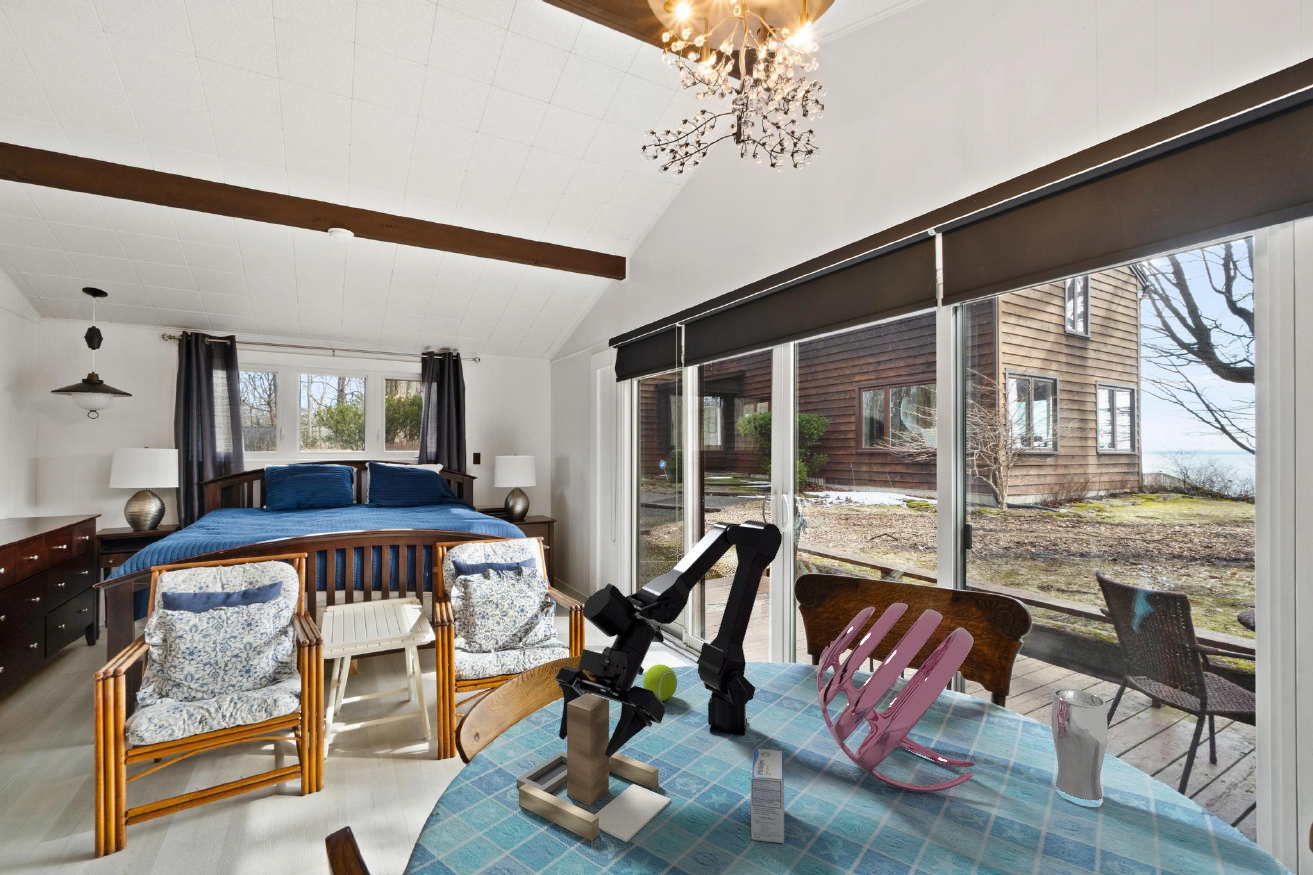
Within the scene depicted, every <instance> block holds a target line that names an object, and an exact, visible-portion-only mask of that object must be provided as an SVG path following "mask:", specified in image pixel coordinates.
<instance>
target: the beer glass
mask: <svg viewBox="0 0 1313 875" xmlns="http://www.w3.org/2000/svg"><path fill="white" fill-rule="evenodd" d="M1052 693H1053V696H1052V704H1051V705H1052V706H1051V730H1052V731H1051V732H1052V739H1053V744H1054V749H1055V754H1056V759H1057V774H1056V780H1055V783H1056V786H1057V787H1058V788H1059V789H1060V790H1061V791H1062V792H1065V793H1066V794H1069V795H1071V796H1074V797H1077V798H1080V799H1085V800H1086V799H1087V800H1099V799H1101V798H1102V795H1103V791H1102V787H1101V774H1102V768H1103V764H1104V759H1105V754H1106V749H1107V744H1108V715H1107V714H1108V713H1107V706H1106V705H1107V703H1106V701H1105V700H1104V698H1102V697H1100V696H1098V695H1096V694H1093V693H1092V692H1089V691H1085V690H1080V689H1076V688H1067V687H1066V688H1065V687H1064V688H1056V689H1054V690H1053V691H1052Z"/></svg>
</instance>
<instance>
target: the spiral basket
mask: <svg viewBox="0 0 1313 875" xmlns="http://www.w3.org/2000/svg"><path fill="white" fill-rule="evenodd" d="M908 607H909V606H908V604H907V603H904V602H903V603H902V602H894V603H892V604H891V605H890V606H889V607H888V608H886V610H885V612H883V614H882V615H881V616H879V618H878V619H877V621H876V622H875V623H874V624H873V625H872V626H871V628H870V629H869V630H868V631H867V632H866V634H865V635H864V636H863V637H862V639H861V640H859V642H858V643H857V644H856V646H855V647H854V648H853V650H851V652H850V654H849V655H847V657H845V659H844V661H842V663H840V657H841V654H842V653H843V652H844V651H845V650H846V648H848V646H849V645H850V643H851V642H852V641H853V640H854V639H855V638H856V637H857V635H858V634H859V632H860V631H861V630H862V628H863V627H864V626H865V624H866V623H867V622H868V621H869V619H870V618H871V617H872V615H873V613H874V612H875V610H876V608H875V606H869V607H866V608H864V609H862V610H860V612H858V613H857V615H856V616H855V617H853V618H852V620H851V621H850V622H849V623H848V624H847V625H846V626H845V627H844V629H843V630H842V631H841V633H839V635H838V637H837V638H836V639H835V640H832V641H830V645H829V646H828V645H826V646H825V647H824V648H823V649H822V650H823V651H822V653H821V654H820V658H819V661H818V667H817V673H816V690H817V699H818V704H819V707H820V711H821V714H822V718H823V720H824V722H825V725H826V727H827V729H828V731H829V733H830V735H831V736H832V738H833V739H834V741H835V743H836V744H837V746H838V747H839V748H840V749H841V750H842V751H843V754H845V755H846V756H847V758H849V759H850V760H851V761H852V762H853V764H855V766H857V767H858V768H860V769H861V770H862V771H863V772H865V773H866V774H868V775H870V776H871V777H873V778H874V779H876V780H878V781H880V782H882V783H884V784H886V785H888V786H891V787H894V788H897V789H900V790H904V791H910V792H915V793H916V792H917V793H933V792H934V793H935V792H941V791H946V790H949V789H952V788H955V787H958V786H960V785H963V784H964V783H966V782H967V781H969V780H970V779H971V778H972V777H973V775H974V774H973V772H972V771H967V772H966V773H964V774H962V775H960V776H958V777H956V778H953V779H951V780H948V781H946V782H945V781H944V782H941V783H936V784H926V785H925V784H912V783H908V782H907V783H906V782H903V781H902V782H901V781H900V780H899V781H898V780H896V779H894V778H893V779H892V778H889V777H888V776H885V775H883V774H881V773H879V772H878V771H876V770H875V768H877V767H878V766H879V765H880V764H881V763H882V762H883V761H884V760H885V759H887V757H888V756H889V755H890V754H891V753H892V752H893V751H894V750H895V749H896V748H897V747H900V748H902V749H903V748H904V749H903V750H905V749H907V750H910V751H912V752H914V753H918V754H921V755H923V756H926V757H928V758H930V759H932V760H934V761H935V762H938V763H941V764H943V765H942V766H945V765H946V767H950V768H951V767H953V768H972V767H975V766H976V764H975V762H974V761H970V760H960V759H955V758H951V757H948V756H945V755H942V754H939V753H937V752H936V751H933V750H931V749H929V748H928V747H925V746H923V745H921V744H920V743H918V742H916V741H915V740H913V739H911V738H910V737H909V736H908V735H909V733H910V732H911V731H912V730H913V729H914V727H915V726H916V725H917V724H918V723H919V721H920V720H921V719H922V717H923V716H925V714H926V713H927V712H928V710H929V709H930V708H931V707H932V705H933V704H934V702H936V700H937V699H938V698H939V696H940V695H941V694H942V692H943V691H944V689H945V688H946V687H947V686H948V684H949V683H950V681H951V680H952V678H953V677H954V676H955V675H956V673H957V672H958V670H959V669H960V667H961V666H962V664H963V663H964V661H965V660H966V658H967V656H968V654H969V653H970V651H971V649H972V647H973V644H974V640H975V639H974V637H973V636H972V634H971V633H970V632H969V631H967V630H966V629H965V628H964V627H960V626H959V627H957V628H955V630H953V631H952V632H951V633H950V634H949V635H948V636H947V637H946V638H945V639H944V640H943V641H942V642H941V643H940V644H939V645H938V646H937V648H936V649H935V650H934V651H932V653H931V654H930V656H928V658H927V659H926V660H925V661H924V662H923V663H922V665H921V666H920V667H919V668H918V670H916V672H915V673H914V674H913V675H912V677H911V678H910V679H909V681H907V682H906V684H905V685H904V687H903V688H902V689H901V690H900V691H899V693H898V694H897V695H896V696H895V697H894V698H893V700H892V701H891V703H890V704H889V706H888V707H887V708H886V709H885V710H884V711H882V712H878V711H877V710H876V709H874V708H875V707H876V706H877V704H878V703H879V702H880V700H881V699H882V698H883V697H884V696H885V694H886V693H887V692H888V691H889V690H890V688H891V687H892V686H893V684H894V683H895V682H896V681H897V680H898V678H899V677H900V676H901V675H902V673H903V672H904V671H905V669H906V668H907V667H908V665H909V664H910V663H911V662H912V661H913V660H914V658H915V657H916V655H917V654H918V653H919V652H920V650H921V649H922V647H924V645H925V643H926V642H927V641H928V640H929V638H930V637H931V636H932V634H933V633H934V631H935V630H936V629H937V628H938V626H939V624H940V623H941V621H942V619H943V618H944V617H943V614H941V613H940V612H938V611H936V610H935V609H934V610H933V609H926V610H924V612H923V613H922V614H921V615H920V616H919V618H917V620H916V621H915V622H914V623H913V625H912V626H911V627H910V628H909V629H908V631H906V633H905V634H903V637H902V638H901V639H900V640H899V641H898V642H897V644H896V645H895V646H894V647H893V649H892V650H891V651H890V652H889V653H888V655H887V656H886V657H885V659H884V660H883V661H882V662H881V663H880V665H878V666H877V668H876V669H875V671H874V672H873V674H872V675H870V677H869V678H868V679H867V680H866V682H865V683H864V685H863V686H862V687H861V688H856V687H855V686H854V684H853V680H852V679H853V676H854V675H855V673H856V672H857V671H858V670H859V669H860V667H861V666H862V665H863V664H864V663H865V661H866V660H867V659H868V658H869V656H870V655H871V654H872V653H873V651H874V650H875V649H876V647H877V646H878V645H879V644H880V643H881V641H883V639H884V638H885V636H886V635H887V634H888V633H889V631H890V630H891V629H892V628H893V626H894V625H895V624H896V622H898V620H899V619H900V618H901V616H902V615H903V614H904V613H905V611H907V609H908ZM831 666H832V669H833V675H832V676H831V677H830V679H829V680H828V681H827V682H826V684H825V685H824V686H823V683H824V682H823V680H824V679H823V678H824V674H825V673H826V672H827V671H828V670H829V668H830V667H831ZM840 692H842V693H844V694H845V696H846V698H847V705H846V707H845V709H844V710H843V711H842V712H841V714H840V715H839V717H838V718H837V719H836V720H835V721H834V723H833V722H832V720H831V718H830V715H829V712H828V706H829V705H830V704H831V703H832V702H833V700H834V699H835V698H836V697H837V695H838V694H839V693H840ZM864 720H865V721H866V722H867V723H868V724H869V727H870V730H869V732H868V733H867V735H866V736H865V737H864V740H863V741H862V742H861V744H860V745H859V747H858V749H857V750H856V752H855V753H854V752H852V751H851V750H850V748H849V747H848V746H847V745H846V743H845V741H846V740H847V739H848V737H849V736H850V735H851V734H852V733H853V732H854V731H855V730H856V729H857V728H858V726H860V724H861V723H862V722H863V721H864ZM907 750H906V751H907ZM941 764H940V765H941Z"/></svg>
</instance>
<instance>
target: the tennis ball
mask: <svg viewBox="0 0 1313 875" xmlns="http://www.w3.org/2000/svg"><path fill="white" fill-rule="evenodd" d="M677 678H678V677H677V675H676V673H675V672H674V670H673V669H672V668H671V667H669V666H667V665H666V664H655V665H653V666H651V667H649V669H648V670H647V671H646V672H645V674H644V676H643V682H642V683H643V688H645V689H648V690H651V691H653V692H654V693H655V694H656V695H657V697H658V698H659V699H660V700H661V701H662V702H663V701H667V700H669V699H670V698H671V697H672V696H674V694H675V692H676V690H677V687H678V679H677Z"/></svg>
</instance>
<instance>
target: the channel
mask: <svg viewBox="0 0 1313 875" xmlns="http://www.w3.org/2000/svg"><path fill="white" fill-rule="evenodd" d="M609 773H612V774H614V775H618V776H620V777H621V778H625V779H628V780H630V781H632V782H635V783H637V784H639V785H642V786H645V787H647V788H650V789H652V790H653V789H654V788H656V787H657V786H658V785H659V768H658V767H655V766H653V765H651V764H647V763H645V762H642V761H640V760H637V759H634V758H632V757H629V756H626V755H624V754H622V753H619V752H615V753H614V754H613V755H612V756H611V757H610V758H609ZM518 806H519V807H521V808H524V809H526V810H528V811H530V812H532V813H534V814H536V815H538V816H540V817H542V818H544V819H546V820H548V821H550V822H551V823H554V824H557V825H558V826H560V827H562V828H564V829H565V830H566V829H567V830H568V831H570V832H572V833H574V834H576V835H578V836H580V837H582V838H584V839H587V840H588V841H590V842H593V841H594V840H595V839H596V838H597V837H599V836H600V835H599V834H600V829H599V817H598V816H596V815H595V814H594V813H591V812H589V811H587V810H585V809H583V808H581V807H578V806H576V805H574V804H572V803H570V802H568V801H566V800H563V799H561V798H559V797H557V796H554V795H552V794H551V793H550V794H549V793H546V792H544V791H542V790H540V789H538V788H536V787H533V786H531V785H529V784H527V783H526V784H525V785H523V786H521V787H520V788H518Z"/></svg>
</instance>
